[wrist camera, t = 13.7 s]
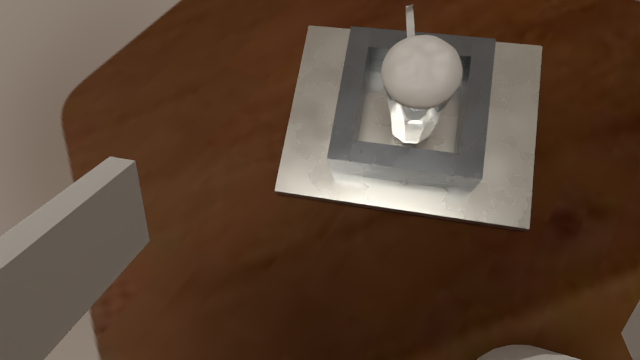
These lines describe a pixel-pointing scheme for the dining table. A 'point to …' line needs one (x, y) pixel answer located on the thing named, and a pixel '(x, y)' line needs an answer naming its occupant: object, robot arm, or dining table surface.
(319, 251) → the dining table surface
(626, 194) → the dining table surface
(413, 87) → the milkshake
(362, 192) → the holder
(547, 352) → the base with upright slab
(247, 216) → the dining table surface
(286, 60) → the dining table surface
